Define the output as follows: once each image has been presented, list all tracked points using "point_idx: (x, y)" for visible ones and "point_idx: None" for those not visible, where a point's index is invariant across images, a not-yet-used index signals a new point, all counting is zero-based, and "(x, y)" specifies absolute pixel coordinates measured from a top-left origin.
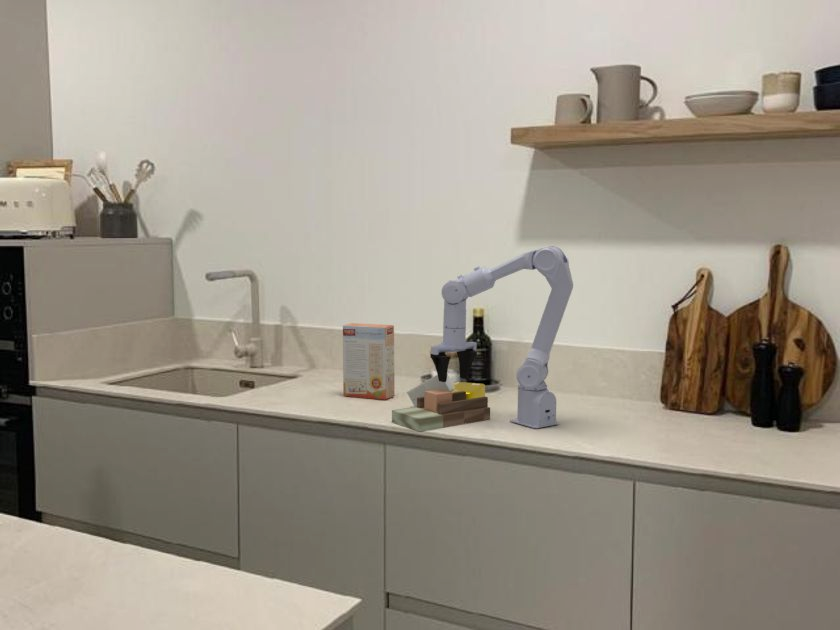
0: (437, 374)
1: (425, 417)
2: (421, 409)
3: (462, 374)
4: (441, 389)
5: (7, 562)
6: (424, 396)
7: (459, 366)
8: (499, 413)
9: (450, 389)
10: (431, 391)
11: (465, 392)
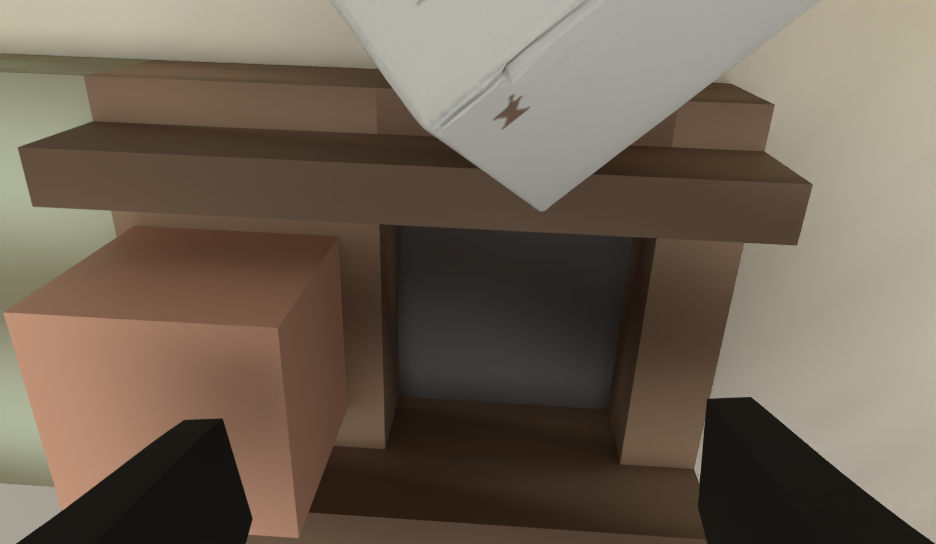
0: (96, 487)
1: (3, 468)
2: (95, 229)
3: (722, 496)
4: (277, 356)
5: None
6: (49, 284)
7: (812, 534)
8: (892, 372)
9: (607, 158)
10: (88, 374)
11: (783, 239)
